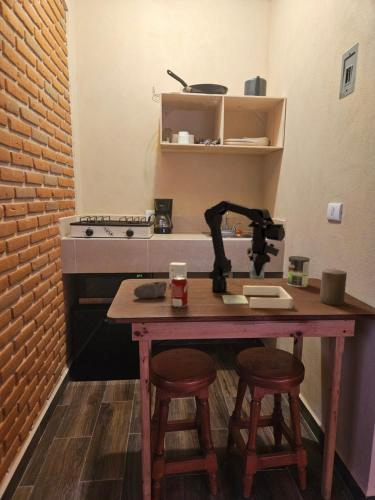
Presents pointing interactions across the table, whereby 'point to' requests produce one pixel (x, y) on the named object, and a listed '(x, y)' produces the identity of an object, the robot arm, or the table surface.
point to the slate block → (253, 273)
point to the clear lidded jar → (298, 271)
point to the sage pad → (234, 299)
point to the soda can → (179, 291)
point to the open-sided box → (281, 302)
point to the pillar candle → (333, 286)
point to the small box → (177, 270)
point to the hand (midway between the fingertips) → (256, 274)
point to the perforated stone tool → (151, 290)
